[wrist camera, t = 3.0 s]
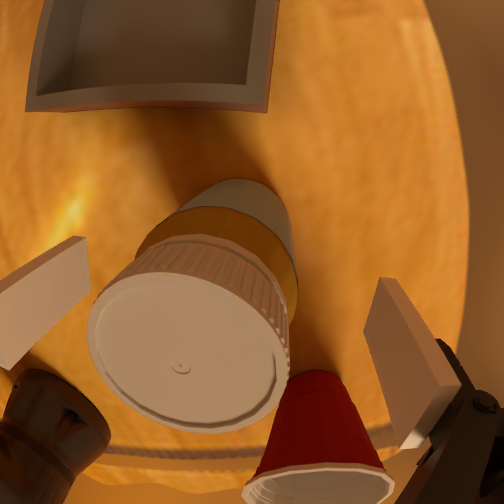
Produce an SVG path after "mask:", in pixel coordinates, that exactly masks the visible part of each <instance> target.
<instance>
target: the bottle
mask: <svg viewBox="0 0 504 504" xmlns="http://www.w3.org/2000/svg"><path fill="white" fill-rule="evenodd" d="M297 296H298V280H297V271H296V263H295V255H294V247H293V239H292V231H291V224H290V220H289V216H288V212H287V210H286V208H285V206H284V204H283V203H282V201H281V199H280V198H279V197H278V196H277V194H275V193H274V192H273V191H272V190H271V189H269V188H268V187H267V186H265V185H264V184H261V183H259V182H256V181H254V180H251V179H242V178H231V179H228V180H224V181H220V182H218V183H216V184H213V185H212V186H210V187H209V188H207V189H206V190H204V191H203V192H202V193H200V194H199V195H197V196H196V197H195V198H193V199H192V200H191V201H189V202H188V203H186V204H185V205H184V206H182V207H181V208H180V209H178V210H177V211H176V212H174V213H173V214H172V215H170V216H169V217H168V218H166V219H165V220H164V221H162V222H161V223H160V224H158V225H157V226H156V227H155V228H154V229H153V230H152V231H151V232H150V233H149V234H148V235H147V237H146V238H145V240H144V241H143V243H142V244H141V246H140V247H139V249H138V251H137V253H136V256H135V260H134V261H133V262H132V263H130V264H129V265H128V266H127V267H126V268H125V269H124V270H123V271H122V272H120V273H119V274H118V275H117V276H116V277H115V278H114V279H113V280H112V281H111V282H110V283H109V284H108V285H107V286H106V287H105V288H104V289H103V291H102V292H101V293H100V294H99V295H98V299H97V300H96V301H95V302H94V304H93V307H92V309H91V312H90V315H89V318H88V323H87V342H88V348H89V352H90V355H91V358H92V360H93V363H94V365H95V367H96V369H97V371H98V373H99V374H100V376H101V377H102V379H103V380H104V382H105V383H106V384H107V386H108V387H109V388H110V389H111V390H112V391H113V392H114V393H115V394H116V395H117V396H118V397H119V398H120V399H121V400H122V401H123V402H124V403H126V404H127V405H128V406H129V407H131V408H132V409H134V410H135V411H137V412H138V413H140V414H141V415H143V416H145V417H147V418H149V419H151V420H153V421H155V422H157V423H160V424H162V425H165V426H168V427H171V428H174V429H178V430H182V431H187V432H194V433H224V432H230V431H234V430H238V429H241V428H244V427H247V426H249V425H251V424H253V423H255V422H257V421H259V420H260V419H262V418H263V417H265V416H266V415H267V414H268V413H269V412H270V411H271V410H272V409H273V408H274V407H275V406H276V405H277V403H278V402H279V400H280V399H281V397H282V395H283V392H284V390H285V387H286V385H287V380H288V379H289V370H290V349H289V325H290V323H291V321H292V319H293V317H294V314H295V310H296V303H297Z"/></svg>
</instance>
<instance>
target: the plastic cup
mask: <svg viewBox="0 0 504 504" xmlns="http://www.w3.org/2000/svg"><path fill="white" fill-rule="evenodd" d="M394 485H395V481H394V479H393V478H392V476H390V475H389V474H388V473H387V472H386V470H385V469H384V467H383V464H382V462H381V461H380V459H379V457H378V454H377V451H376V450H375V449H374V447H373V445H372V443H371V441H370V438H369V436H368V434H367V431H366V429H365V427H364V424H363V422H362V420H361V418H360V415H359V413H358V411H357V409H356V407H355V405H354V403H353V402H352V401H351V398H350V396H349V394H348V392H347V390H346V387H345V386H344V384H343V383H342V382H341V381H340V379H339V378H338V377H337V376H336V375H334V374H332V373H329V372H327V371H319V370H313V371H308V372H302V373H300V374H298V375H296V376H295V377H293V378H291V379H290V380H289V382H288V383H287V385H286V387H285V390H284V392H283V395H282V397H281V399H280V403H279V407H278V409H277V412H276V415H275V419H274V422H273V426H272V429H271V433H270V436H269V440H268V443H267V446H266V450H265V453H264V456H263V457H262V460H261V463H260V466H259V467H258V468H257V470H256V473H255V474H254V476H253V478H251V480H249V481H247V482H246V484H245V486H244V489H243V492H242V498H243V499H244V500H245V501H246V502H247V503H248V504H379V503H381V502H382V501H383V500H385V498H387V497H388V496H389V495H390V494H392V493H393V489H394Z"/></svg>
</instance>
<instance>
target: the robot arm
mask: <svg viewBox="0 0 504 504" xmlns="http://www.w3.org/2000/svg"><path fill="white" fill-rule="evenodd" d="M90 291H91V284H90V276H89V267H88V257H87V245H86V237H79V236H72V237H70V238H69V239H67V240H65V241H63V242H62V243H60V244H58V245H56V246H55V247H53V248H51V249H50V250H48V251H46V252H45V253H43V254H41V255H40V256H38V257H36V258H35V259H33V260H32V261H30V262H28V263H27V264H25V265H24V266H22V267H21V268H19V269H17V270H16V271H14V272H13V273H11V274H10V275H8V276H7V277H5V278H4V279H2V280H1V281H0V366H1V367H3V368H5V369H6V370H8V371H9V370H10V369H11V368H12V367H13V366H14V365H15V364H16V363H17V362H18V361H19V360H20V359H21V358H22V357H23V356H24V355H25V353H26V352H27V351H28V350H29V349H30V348H31V347H32V346H33V345H34V344H35V343H36V342H37V341H38V340H39V339H40V338H41V337H42V336H43V335H44V334H45V333H46V332H47V331H48V330H49V329H51V328H52V327H53V326H54V325H55V324H56V323H57V322H58V321H59V320H60V319H61V318H62V317H63V316H64V315H65V314H66V313H67V312H68V311H69V310H70V309H71V308H73V307H74V306H75V305H76V304H77V303H78V302H79V301H80V300H81V299H82V298H83V297H84V296H85V295H87V294H88V293H89V292H90ZM363 332H364V335H365V338H366V341H367V344H368V347H369V350H370V353H371V356H372V359H373V362H374V365H375V368H376V371H377V375H378V378H379V381H380V384H381V388H382V391H383V394H384V398H385V401H386V404H387V408H388V411H389V415H390V418H391V422H392V426H393V429H394V433H395V437H396V440H397V444H398V448H399V449H408V448H419V447H420V446H421V445H422V444H423V442H424V441H425V440H426V438H427V437H428V436H429V438H430V441H431V444H432V445H431V446H430V448H429V449H428V450H427V451H426V453H425V454H424V455H423V456H422V458H421V459H420V460H419V461H418V462H417V464H416V465H418V467H417V469H416V471H415V472H414V474H413V476H412V477H411V479H410V481H409V482H408V484H407V485H406V487H405V488H404V490H403V491H402V493H401V494H400V496H399V497H398V499H397V500H396V502H395V503H394V504H504V408H500V405H499V403H498V401H497V400H496V399H495V398H494V397H493V396H492V395H490V394H489V393H487V392H485V391H482V390H475V388H474V386H473V384H472V383H471V381H470V379H469V377H468V376H467V374H466V372H465V371H464V369H463V367H462V366H460V362H459V361H458V359H457V358H456V356H455V354H454V353H453V351H452V350H451V348H450V347H449V346H448V345H447V344H446V343H445V342H443V341H442V340H441V339H435V338H434V337H433V335H432V333H431V332H430V330H429V329H428V327H427V325H426V324H425V322H424V321H423V319H422V318H421V316H420V315H419V313H418V311H417V310H416V308H415V307H414V305H413V304H412V302H411V301H410V299H409V298H408V296H407V295H406V293H405V292H404V290H403V289H402V287H401V286H400V284H399V283H398V282H397V280H396V279H392V278H384V277H380V278H379V281H378V285H377V288H376V292H375V295H374V299H373V302H372V305H371V309H370V312H369V315H368V318H367V322H366V325H365V328H364V331H363ZM110 439H111V433H110V429H109V427H108V425H107V423H106V421H105V420H104V418H103V417H102V415H101V414H100V413H99V412H98V410H97V409H96V408H95V407H94V406H93V405H92V404H91V403H90V402H89V401H88V400H87V399H86V398H85V397H84V396H83V395H81V394H80V393H79V392H78V391H77V390H75V389H74V388H73V387H71V386H70V385H68V384H67V383H65V382H64V381H62V380H61V379H59V378H57V377H55V376H53V375H51V374H49V373H47V372H44V371H41V370H37V369H28V370H26V371H24V372H23V373H22V374H21V375H20V376H19V377H18V379H17V380H16V381H15V383H14V384H13V387H12V392H11V394H10V397H9V399H8V402H7V405H6V408H5V411H4V415H3V418H2V419H1V421H0V504H63V503H64V501H65V499H66V497H67V495H68V493H69V491H70V489H71V486H72V484H73V483H74V481H75V479H76V477H77V476H78V475H79V474H80V473H81V472H82V471H83V470H85V469H86V468H87V467H88V466H89V465H91V464H92V463H93V462H94V461H95V460H96V459H97V458H98V457H100V456H101V455H102V454H103V453H104V451H105V450H106V448H107V446H108V444H109V442H110Z"/></svg>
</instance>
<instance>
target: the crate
mask: <svg viewBox="0 0 504 504" xmlns="http://www.w3.org/2000/svg"><path fill="white" fill-rule="evenodd" d="M279 1H280V0H45V2H44V5H43V9H42V13H41V17H40V21H39V25H38V29H37V34H36V38H35V43H34V48H33V54H32V60H31V66H30V72H29V80H28V87H27V96H26V107H25V112H75V111H87V110H101V109H119V108H202V109H221V110H236V111H248V112H259V113H267V109H268V100H269V91H270V82H271V73H272V64H273V55H274V46H275V37H276V28H277V19H278V10H279Z"/></svg>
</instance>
